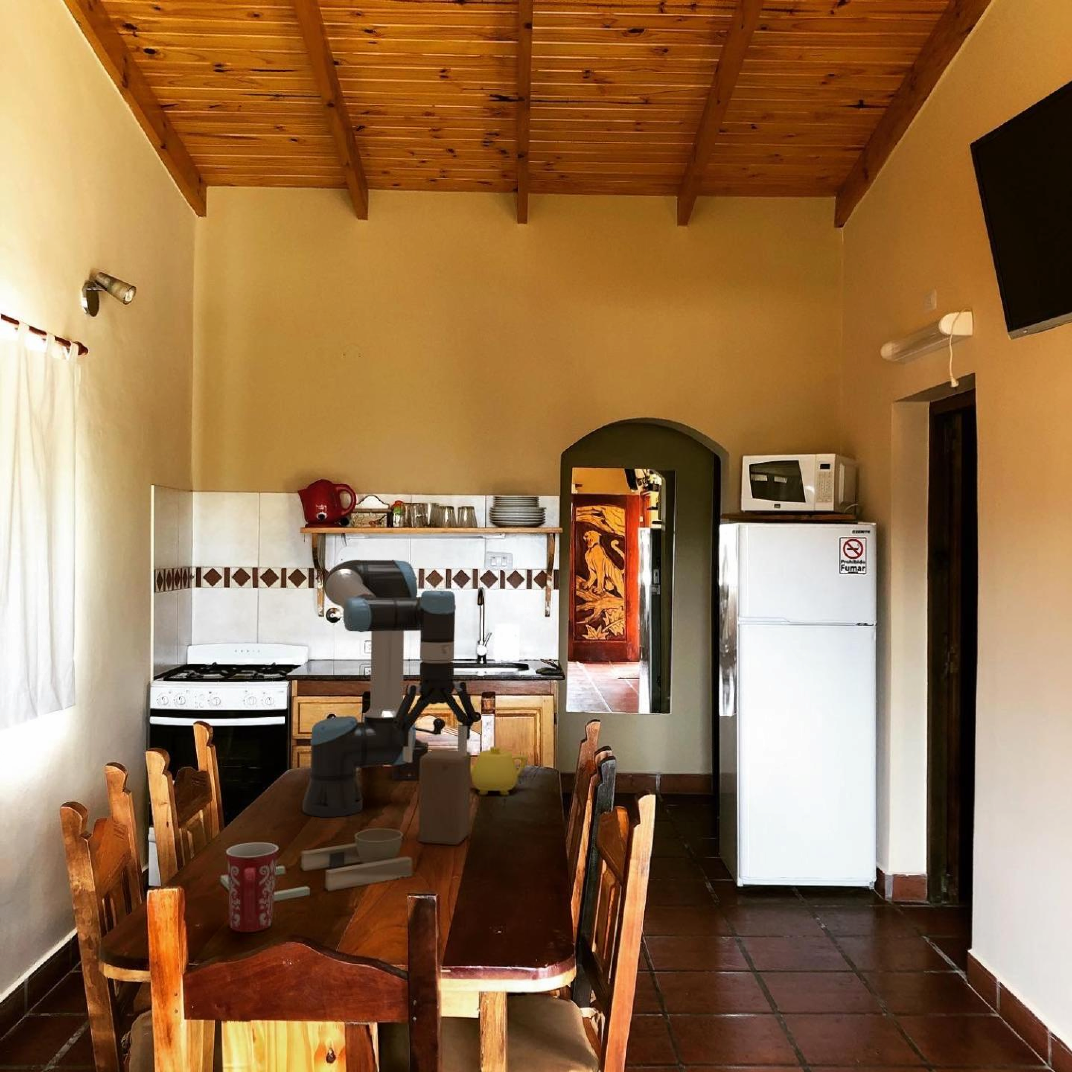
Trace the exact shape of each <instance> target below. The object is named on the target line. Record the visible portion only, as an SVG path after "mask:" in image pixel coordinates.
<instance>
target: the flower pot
mask: <svg viewBox="0 0 1072 1072" xmlns="http://www.w3.org/2000/svg"><path fill="white" fill-rule="evenodd" d="M354 840H355V842H354V843H356V847H357V851H358V854H359V856H360V859H361V864H366V863H372V862H378V861H384V860H390V859H396V858H398V854H399V852H400V849H401V846H402V840H403V832H402V831H400V830H398V829H393V828H392V829H391V828H369V829H365V830H362V831H361V830H360V831H358V832H357V833H355V835H354Z"/></svg>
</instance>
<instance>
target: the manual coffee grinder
mask: <svg viewBox="0 0 1072 1072" xmlns="http://www.w3.org/2000/svg"><path fill="white" fill-rule="evenodd" d="M432 725H433V730H430V729H426V728H421V727H420V728H418V727H416V726H415V731H417V732H422V733H428V734H431V735H434V736H437V735H442V730H443V728H444V727H446V721H445V720H444V719H443V718H440V717H436V718H435V719H433V721H432ZM428 752H429V742H427V741H425V742H424V741H422V740H420V739H417V738H416V739H415V746H414V751H413V754H412V762H410V763H409V762H406V763H404V764H398V765H394V766H392V777H391V780H392V781H417V780H418V781H419V776H420V758H421V757H422V756H423V755H425V754H426V753H428Z"/></svg>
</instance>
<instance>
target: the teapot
mask: <svg viewBox="0 0 1072 1072" xmlns="http://www.w3.org/2000/svg"><path fill="white" fill-rule="evenodd" d="M457 750H458V747H457ZM511 753H512V752H510V750H509V751H508V750H501V747H500V746H490V748H489V749H486V750H481V751H480V752H479V753H478V756H477V758H476V759H475V762H474V765H473V764H472V763H471V765H470V778H471V781H472V784H473V785H474V786H473V787H475V789H477V790H478V791H479V792H478V795H480V796H486V795H488V794H489V791H493V792H497V791H498V792H499V794H500V795H501V796H509V795H510V793H509V791H510V790H512V789H513V788H515V786H516V784H517V782H518V778H519V777H518V776H519V775H520V774H521V772H523V770H524V768H525V767H526V765H528V760H529V759H528V756H527V755H525V754H518V755H512V754H511ZM514 760H520V764H519V767H518V769H517V765H516V763H515V762H516V761H514Z"/></svg>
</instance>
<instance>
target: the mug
mask: <svg viewBox="0 0 1072 1072" xmlns="http://www.w3.org/2000/svg"><path fill="white" fill-rule="evenodd" d="M278 851H279V847H278V845H276V844H274V843H270V842H261V841H260V842H247V843H240V844H235V845H233V846H231V847H229V848H227V849H226V851H225V855H226V857H227V875H228V885H229V890H228V906H229V907H228V908H229V909H228V911H229V927H230V928H231V930H233V931H236V932H240V933H242V932H243V933H249V932H250V933H253V932H258V931H262V930H265V929H267V928H269V927H270V926H271V925H272V924H273V915H274V914H273V913H274V904H275V903H274V902H275V901H274V892H275V889H276V888H275V887H276V886H275V885H276V876H277V875H276V867H277V861H278V859H277V857H278Z"/></svg>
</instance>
